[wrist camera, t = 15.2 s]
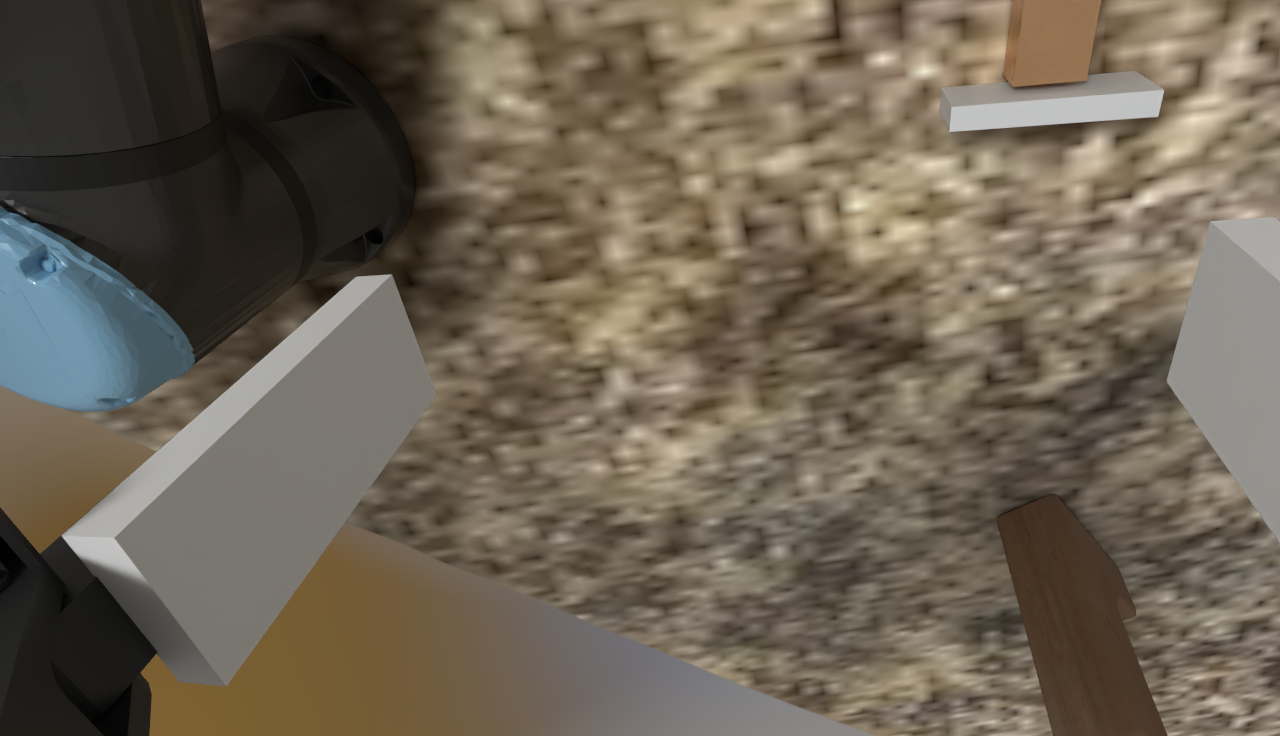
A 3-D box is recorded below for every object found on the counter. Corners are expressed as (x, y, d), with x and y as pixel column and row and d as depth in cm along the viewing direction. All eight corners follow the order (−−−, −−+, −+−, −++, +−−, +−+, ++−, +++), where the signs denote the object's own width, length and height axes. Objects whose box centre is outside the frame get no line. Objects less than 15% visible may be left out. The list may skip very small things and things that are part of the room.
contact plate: (1002, 75, 37) (1012, 87, 35) (1017, -44, 35) (1029, -39, 33) (1072, 69, 37) (1086, 80, 35) (1093, -54, 34) (1110, -49, 32)
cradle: (939, 111, 39) (949, 131, 36) (954, -75, 35) (967, -69, 31) (1129, 95, 37) (1158, 116, 34) (1171, -105, 32) (1210, -103, 29)
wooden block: (1119, 566, 53) (1228, 825, 39) (1058, 587, 56) (1140, 839, 41) (1054, 490, 51) (1144, 735, 36) (993, 515, 53) (1055, 755, 39)
